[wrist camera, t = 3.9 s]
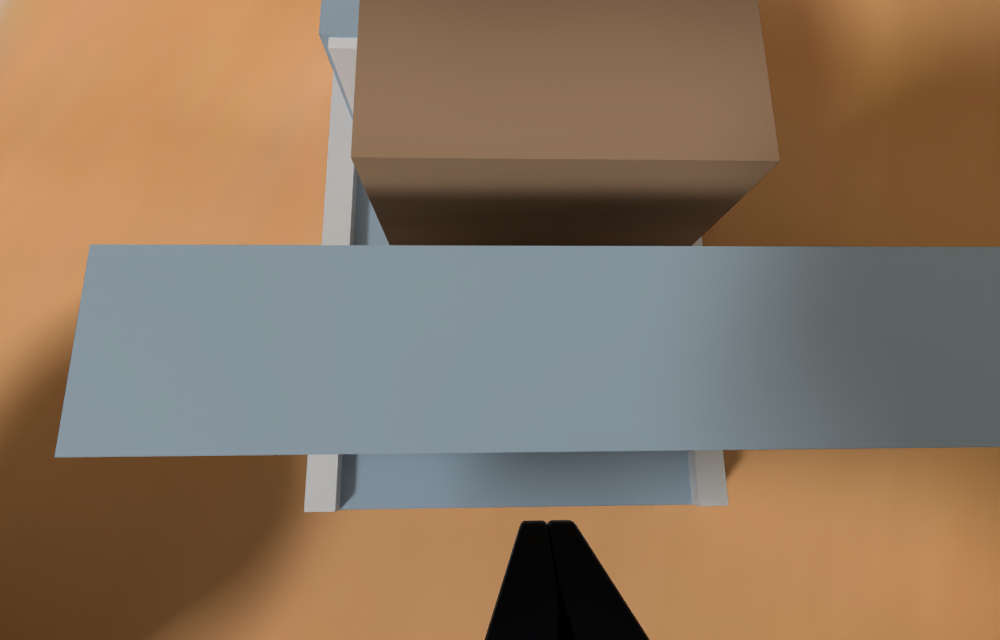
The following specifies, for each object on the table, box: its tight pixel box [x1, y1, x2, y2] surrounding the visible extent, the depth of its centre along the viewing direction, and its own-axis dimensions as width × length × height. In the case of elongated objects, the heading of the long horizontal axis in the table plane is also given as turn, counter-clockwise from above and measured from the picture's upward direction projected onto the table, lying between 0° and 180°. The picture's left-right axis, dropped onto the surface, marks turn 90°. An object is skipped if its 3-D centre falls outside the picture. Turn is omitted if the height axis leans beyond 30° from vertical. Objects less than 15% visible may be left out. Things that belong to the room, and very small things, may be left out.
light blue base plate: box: [304, 71, 729, 512], centre depth 17 cm, size 14×11×1 cm
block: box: [351, 0, 780, 246], centre depth 12 cm, size 4×5×10 cm
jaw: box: [54, 245, 1000, 458], centre depth 10 cm, size 2×10×10 cm, turn 91°
